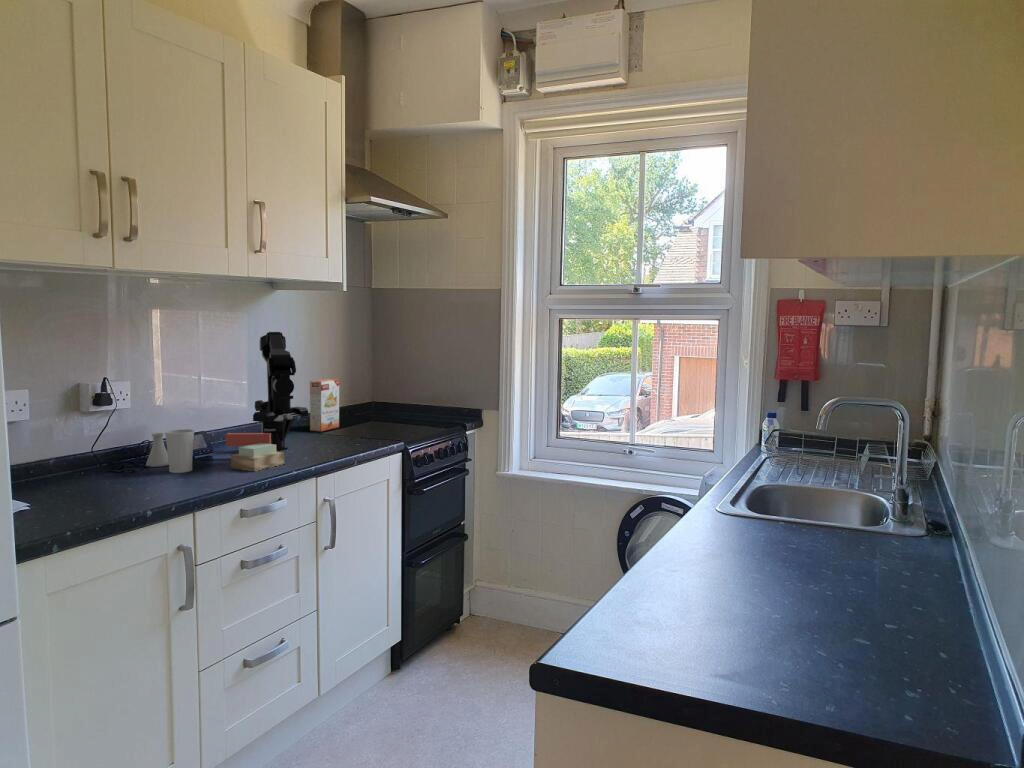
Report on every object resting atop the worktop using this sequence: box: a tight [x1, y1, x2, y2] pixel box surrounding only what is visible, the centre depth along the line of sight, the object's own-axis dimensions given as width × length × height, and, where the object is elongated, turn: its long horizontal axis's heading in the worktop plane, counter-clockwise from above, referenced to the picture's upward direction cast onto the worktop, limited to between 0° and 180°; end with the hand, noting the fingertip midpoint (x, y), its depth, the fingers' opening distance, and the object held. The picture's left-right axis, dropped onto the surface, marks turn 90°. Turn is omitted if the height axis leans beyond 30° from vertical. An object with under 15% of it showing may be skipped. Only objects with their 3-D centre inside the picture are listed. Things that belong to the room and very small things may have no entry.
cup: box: [164, 428, 195, 474], centre depth 212 cm, size 8×8×12 cm
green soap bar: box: [238, 443, 276, 457], centre depth 219 cm, size 9×6×2 cm
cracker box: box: [309, 378, 340, 433], centre depth 296 cm, size 14×6×21 cm, turn 162°
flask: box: [145, 432, 169, 468], centre depth 220 cm, size 7×7×10 cm
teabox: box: [230, 450, 285, 472], centre depth 220 cm, size 12×10×4 cm
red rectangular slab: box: [225, 432, 271, 447], centre depth 232 cm, size 14×2×7 cm, turn 94°
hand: (281, 440), depth 228 cm, fingers closed
